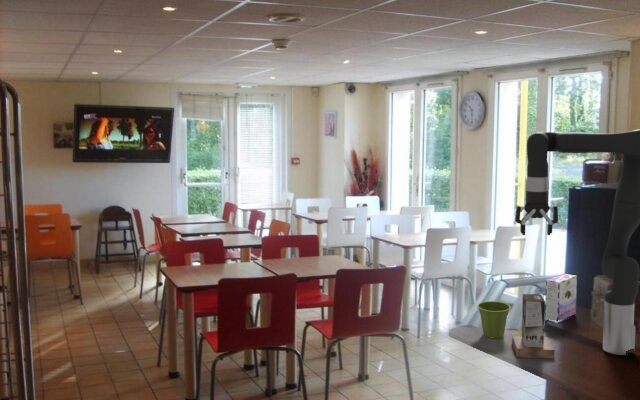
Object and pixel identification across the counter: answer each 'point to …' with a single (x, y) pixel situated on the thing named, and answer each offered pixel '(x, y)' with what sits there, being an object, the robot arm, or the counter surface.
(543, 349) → the light brown flat block
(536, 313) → the coffee box
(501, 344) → the counter surface
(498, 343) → the counter surface
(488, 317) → the plant pot
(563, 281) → the candy box
